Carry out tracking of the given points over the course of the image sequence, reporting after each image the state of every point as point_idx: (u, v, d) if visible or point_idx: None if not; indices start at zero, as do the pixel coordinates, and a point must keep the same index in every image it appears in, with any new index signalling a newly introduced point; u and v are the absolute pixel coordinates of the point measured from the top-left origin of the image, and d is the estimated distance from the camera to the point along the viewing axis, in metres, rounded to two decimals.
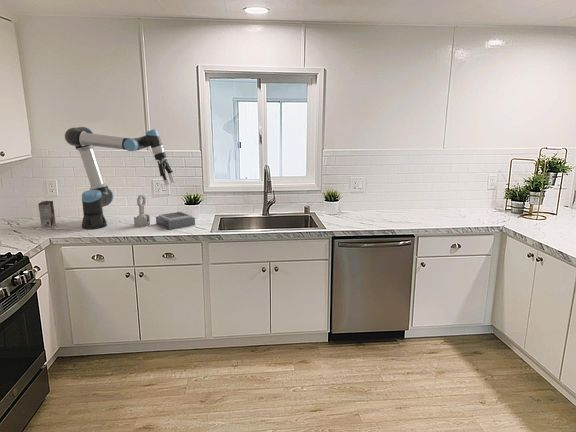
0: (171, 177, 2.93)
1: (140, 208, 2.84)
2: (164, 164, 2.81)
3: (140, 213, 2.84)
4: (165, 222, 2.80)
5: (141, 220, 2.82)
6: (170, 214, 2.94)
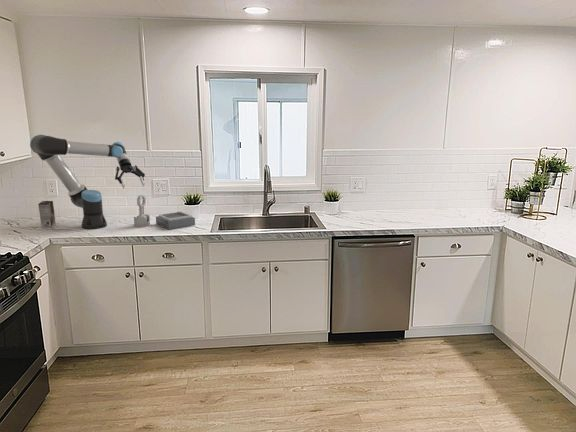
0: None
1: (140, 208, 2.84)
2: None
3: (140, 213, 2.84)
4: (165, 222, 2.80)
5: (141, 220, 2.82)
6: (170, 214, 2.94)
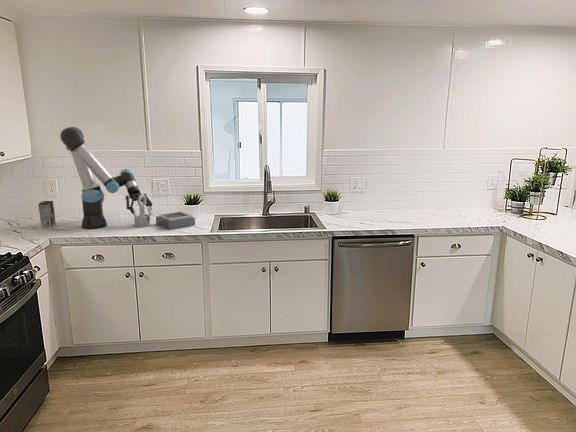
0: None
1: (140, 208, 2.84)
2: None
3: (140, 213, 2.84)
4: (165, 222, 2.80)
5: (141, 220, 2.82)
6: (170, 214, 2.94)
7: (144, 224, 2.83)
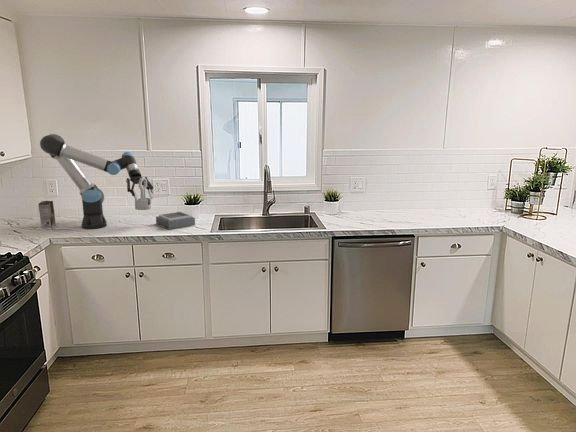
0: None
1: (141, 191, 2.82)
2: None
3: (141, 196, 2.82)
4: (165, 222, 2.80)
5: (142, 203, 2.79)
6: (170, 214, 2.94)
7: (145, 207, 2.81)
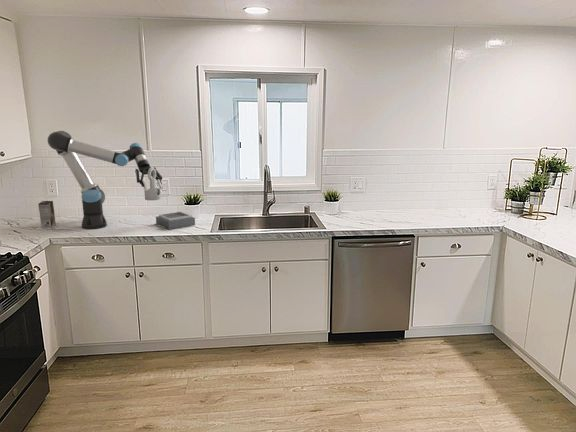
0: None
1: (151, 181, 2.81)
2: None
3: (151, 186, 2.82)
4: (165, 222, 2.80)
5: (152, 193, 2.79)
6: (170, 214, 2.94)
7: (154, 197, 2.80)
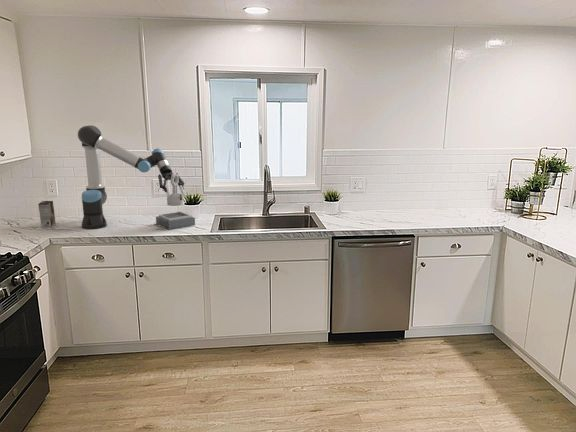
0: None
1: (173, 187, 2.83)
2: None
3: (173, 192, 2.84)
4: (165, 222, 2.80)
5: (175, 199, 2.81)
6: (170, 214, 2.94)
7: (177, 203, 2.83)
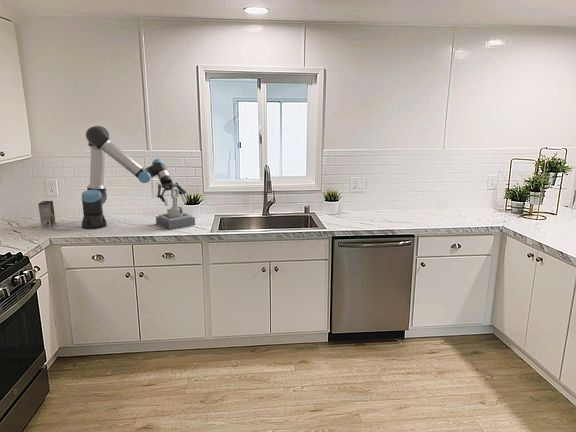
0: None
1: (173, 200, 2.85)
2: None
3: (173, 205, 2.86)
4: (165, 222, 2.80)
5: (175, 212, 2.83)
6: None
7: (177, 216, 2.85)
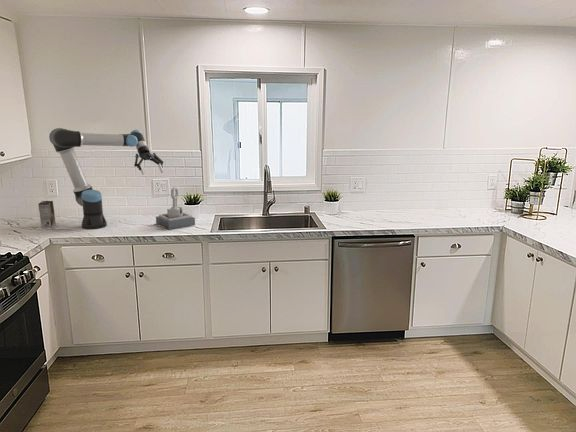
0: None
1: (173, 200, 2.85)
2: None
3: (173, 205, 2.86)
4: (165, 222, 2.80)
5: (175, 212, 2.83)
6: None
7: (177, 216, 2.85)
